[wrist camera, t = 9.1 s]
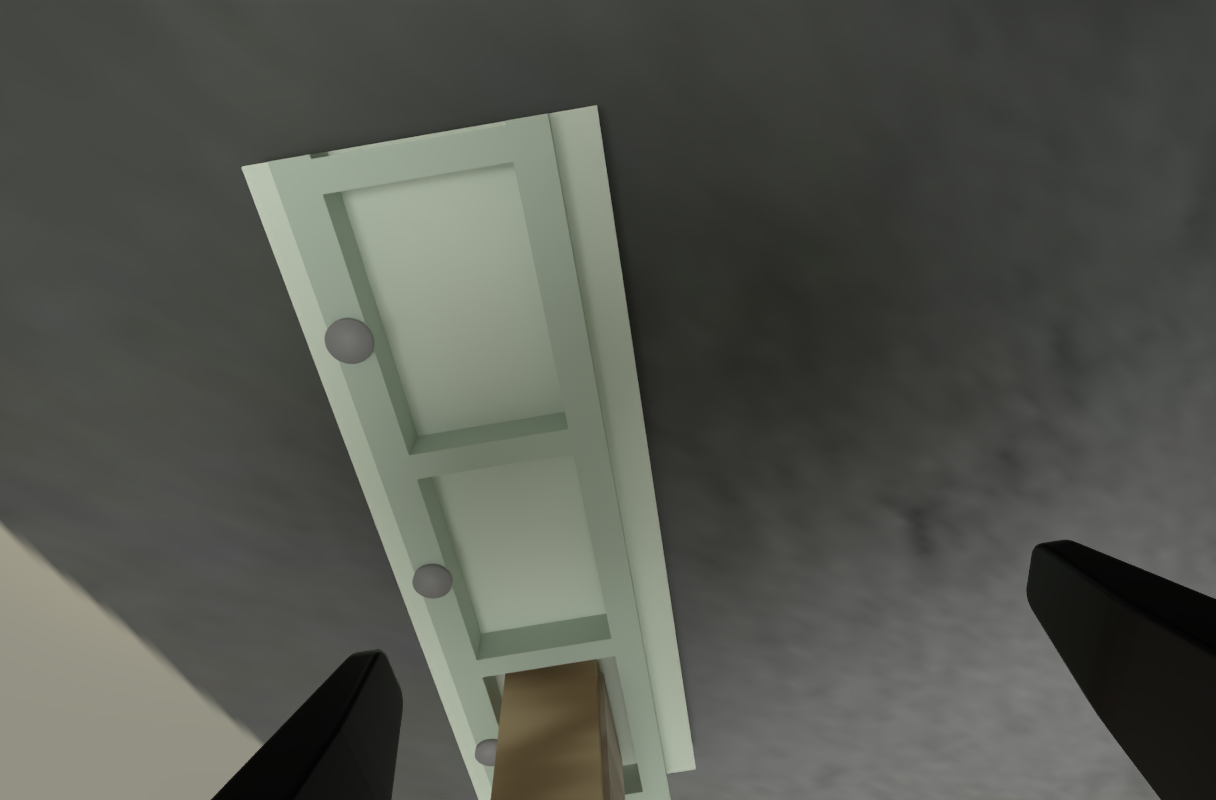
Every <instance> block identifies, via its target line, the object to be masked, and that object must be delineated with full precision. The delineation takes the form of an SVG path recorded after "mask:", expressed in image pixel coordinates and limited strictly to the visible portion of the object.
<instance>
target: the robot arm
mask: <svg viewBox="0 0 1216 800" xmlns="http://www.w3.org/2000/svg"><path fill="white" fill-rule="evenodd" d="M1027 598H1028V602H1029V604H1030V607H1031V609H1032V610H1033V612H1034V614H1035V615H1036V617H1037V619H1038V620H1039V622H1040V623H1041V625H1042V627H1043V628H1044V630H1045V632H1046V633H1047V635H1048V636H1049V638H1050V640H1051V641H1052V643H1053V645H1054V646H1055V648H1056V649H1057V651H1058V653H1059V654H1060V656H1061V658H1062V659H1063V661H1064V662H1065V664H1066V666H1067V667H1068V669H1069V671H1070V672H1071V674H1072V675H1073V677H1074V679H1075V680H1076V682H1077V683H1078V685H1079V687H1080V688H1081V690H1082V692H1083V693H1084V695H1085V696H1086V698H1087V700H1088V701H1089V703H1090V704H1091V706H1092V707H1093V709H1094V710H1095V712H1096V713H1097V715H1098V716H1099V717H1100V719H1101V720H1102V722H1103V723H1104V724H1105V726H1106V727H1107V729H1108V730H1109V731H1110V733H1111V734H1112V735H1113V737H1114V738H1115V739H1116V741H1117V742H1118V743H1119V745H1120V746H1121V747H1122V749H1123V750H1124V751H1125V753H1126V754H1127V755H1128V757H1129V758H1130V759H1131V761H1132V762H1133V763H1134V765H1135V766H1136V767H1137V768H1138V770H1139V771H1140V772H1141V774H1142V775H1143V776H1144V778H1145V779H1146V780H1147V782H1148V783H1149V784H1150V786H1151V787H1152V788H1153V790H1154V791H1155V792H1156V794H1157V795H1158V796H1159V798H1160V799H1161V800H1216V599H1214V598H1212V597H1209V596H1207V595H1204V594H1202V593H1199V592H1197V591H1194V590H1192V589H1190V588H1187V587H1185V586H1182V585H1180V584H1177V583H1175V582H1172V581H1170V580H1167V579H1165V578H1163V577H1160V576H1158V575H1155V574H1153V573H1150V572H1148V571H1145V570H1143V569H1140V568H1138V567H1136V566H1133V565H1131V564H1128V563H1126V562H1123V561H1121V560H1118V559H1116V558H1113V557H1111V556H1109V555H1106V554H1104V553H1101V552H1099V551H1096V550H1094V549H1091V548H1089V547H1086V546H1084V545H1082V544H1079V543H1077V542H1074V541H1071V540H1059V541H1052V542H1046V543H1041V544H1038V545H1036V546H1035V548H1034V549H1033V551H1032V556H1031V563H1030V569H1029V576H1028V582H1027ZM402 710H403V696H402V691H401V688H400V685H399V683H398V681H397V678H396V676H395V673H394V671H393V669H392V666H391V664H390V662H389V659H388V657H387V655H386V653H385V652H384V651H382V650H379V649H376V650H370V651H363V652H357V653H354V654H352V655H351V656H349V657H348V658H347V659H346V660H345V661H344V662H343V663H342V664H341V665H340V666H339V667H338V668H337V669H336V670H335V672H334V673H333V674H332V675H331V676H330V677H329V678H328V679H327V680H326V681H325V682H324V683H323V684H322V685H321V686H320V687H319V688H318V689H317V690H316V691H315V692H314V693H313V694H312V695H311V696H310V697H309V698H308V699H307V701H306V702H305V703H304V704H303V705H302V706H301V707H300V708H299V709H298V710H297V711H296V712H295V713H294V714H293V715H292V716H291V717H290V718H289V719H288V720H287V721H286V722H285V723H284V724H283V725H282V726H281V727H280V729H279V730H278V731H277V732H276V733H275V734H274V735H273V736H272V737H271V738H270V739H269V740H268V741H267V742H266V743H265V744H264V745H263V746H262V747H261V748H260V749H259V750H258V751H257V752H256V753H255V755H254V756H252V758H251V759H250V760H249V761H248V762H247V763H246V764H245V765H244V766H243V767H242V768H241V769H240V770H239V771H238V772H237V773H236V774H235V775H234V776H233V777H232V778H231V779H230V780H229V781H228V782H227V784H225V786H224V787H223V788H222V789H221V790H220V791H219V792H218V793H217V794H216V795H215V796H214V797H213V798H212V799H211V800H391V798H392V790H393V782H394V774H395V766H396V758H397V750H398V742H399V734H400V726H401V718H402Z"/></svg>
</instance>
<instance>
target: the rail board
mask: <svg viewBox="0 0 1216 800" xmlns="http://www.w3.org/2000/svg"><path fill="white" fill-rule="evenodd" d="M241 168H242V170H243V173H244V176H245V178H246V181H247V184H248V186H249V189H250V192H251V194H252V197H253V200H254V202H255V205H256V208H257V210H258V213H259V216H260V218H261V221H262V224H263V226H264V229H265V232H266V234H267V237H268V240H269V242H270V245H271V248H272V250H273V253H274V256H275V258H276V261H277V264H278V266H279V269H280V271H281V274H282V277H283V279H284V282H285V285H286V287H287V290H288V293H289V295H290V298H291V301H292V303H293V306H294V309H295V311H296V314H297V317H298V319H299V322H300V325H301V327H302V330H303V333H304V335H305V338H306V341H307V343H308V346H309V349H310V351H311V354H312V357H313V359H314V362H315V365H316V367H317V370H318V373H319V375H320V378H321V381H322V383H323V386H324V389H325V391H326V394H327V397H328V399H329V402H330V405H331V407H332V410H333V413H334V415H335V418H336V421H337V423H338V426H339V429H340V431H341V434H342V437H343V439H344V442H345V445H346V447H347V450H348V453H349V455H350V458H351V461H352V463H353V466H354V469H355V471H356V474H357V477H358V479H359V482H360V485H361V487H362V490H363V493H364V495H365V498H366V501H367V503H368V506H369V509H370V511H371V514H372V517H373V519H374V522H375V525H376V527H377V530H378V533H379V535H380V538H381V541H382V543H383V546H384V549H385V551H386V554H387V557H388V559H389V562H390V565H391V567H392V570H393V573H394V575H395V578H396V581H397V583H398V586H399V589H400V591H401V594H402V597H403V599H404V602H405V605H406V607H407V610H408V613H409V615H410V618H411V620H412V623H413V626H414V628H415V631H416V634H417V636H418V639H419V642H420V644H421V647H422V650H423V652H424V655H425V658H426V660H427V663H428V666H429V668H430V671H431V674H432V676H433V679H434V682H435V684H436V687H437V690H438V692H439V695H440V698H441V700H442V703H443V706H444V708H445V711H446V714H447V716H448V719H449V722H450V724H451V727H452V730H453V732H454V735H455V738H456V740H457V743H458V746H459V748H460V751H461V754H462V756H463V759H464V762H465V764H466V767H467V770H468V772H469V775H470V778H471V780H472V783H473V786H474V788H475V791H476V794H477V796H478V799H479V800H491V792H492V783H493V775H494V766H495V757H496V749H497V740H498V732H499V723H500V714H501V706H502V697H503V689H504V680H505V674H506V673H512V672H519V671H525V670H531V669H537V668H544V667H550V666H556V665H562V664H569V663H575V662H581V661H588V660H594V659H597V662H598V666H599V671H600V675H601V674H603V675H604V680H605V684H606V689H607V693H608V698H609V702H610V707H611V712H612V716H613V721H614V725H615V730H616V734H617V739H618V744H619V748H620V753H621V757H622V765H623V778H624V790H625V800H671V798H670V792H669V785H668V778H667V774H668V773H675V772H681V771H688V770H694V769H696V767H695V761H694V754H693V747H692V740H691V734H690V727H689V720H688V714H687V707H686V700H685V693H684V687H683V680H682V673H681V667H680V660H679V653H678V646H677V640H676V633H675V626H674V620H673V613H672V606H671V599H670V593H669V586H668V579H667V573H666V566H665V559H664V552H663V546H662V539H661V532H660V526H659V519H658V512H657V505H656V499H655V492H654V485H653V479H652V472H651V465H650V458H649V452H648V445H647V438H646V432H645V425H644V418H643V411H642V405H641V398H640V391H639V385H638V378H637V371H636V364H635V358H634V351H633V344H632V338H631V331H630V324H629V317H628V311H627V304H626V297H625V291H624V284H623V277H622V270H621V264H620V257H619V250H618V244H617V237H616V230H615V223H614V217H613V210H612V203H611V197H610V190H609V183H608V176H607V170H606V163H605V156H604V150H603V143H602V136H601V129H600V123H599V116H598V109H597V105H595V106H590V107H584V108H578V109H572V110H566V111H561V112H555V113H547V114H541V115H535V116H530V117H524V118H518V119H512V120H506V121H503V122H497V123H491V124H485V125H480V126H474V127H468V128H462V129H456V130H451V131H445V132H439V133H433V134H428V135H422V136H416V137H410V138H404V139H399V140H393V141H387V142H381V143H375V144H370V145H364V146H358V147H352V148H347V149H341V150H335V151H329V152H323V153H316V154H310V155H304V156H298V157H292V158H287V159H281V160H275V161H269V162H266V163H260V164H254V165H248V166H242V167H241Z"/></svg>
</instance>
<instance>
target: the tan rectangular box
mask: <svg viewBox="0 0 1216 800" xmlns="http://www.w3.org/2000/svg"><path fill="white" fill-rule="evenodd" d="M491 800H625V790H624V778H623V765H622V757H621V753H620V748H619V744H618V739H617V734H616V730H615V725H614V721H613V716H612V712H611V707H610V702H609V698H608V693H607V689H606V684H605V680H604V675H603V674H601V675H600V671H599V666H598V662H597V659H594V660H588V661H581V662H575V663H569V664H562V665H556V666H550V667H544V668H537V669H531V670H525V671H519V672H512V673H506V674H505V680H504V689H503V697H502V706H501V714H500V723H499V732H498V740H497V749H496V757H495V766H494V775H493V783H492V792H491Z"/></svg>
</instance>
